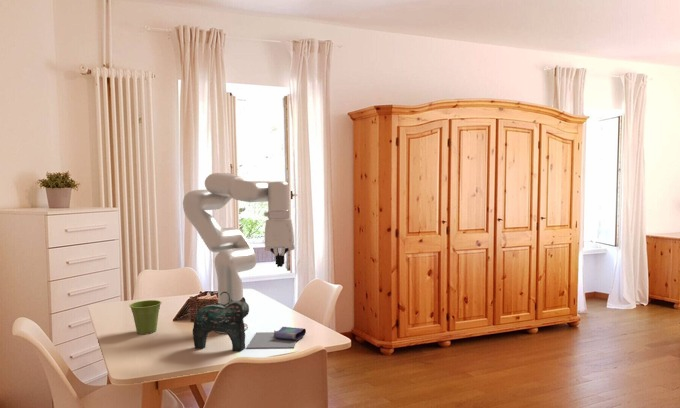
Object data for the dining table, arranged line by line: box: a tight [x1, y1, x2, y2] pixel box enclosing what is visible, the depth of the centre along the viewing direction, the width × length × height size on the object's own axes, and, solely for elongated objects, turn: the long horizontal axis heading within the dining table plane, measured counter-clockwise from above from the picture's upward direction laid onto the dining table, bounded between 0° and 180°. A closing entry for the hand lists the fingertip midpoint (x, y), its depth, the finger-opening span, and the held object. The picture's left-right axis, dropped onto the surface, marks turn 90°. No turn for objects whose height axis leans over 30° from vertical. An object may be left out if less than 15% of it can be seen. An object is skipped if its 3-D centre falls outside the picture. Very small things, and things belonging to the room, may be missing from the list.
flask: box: [273, 326, 307, 341], centre depth 184 cm, size 9×3×11 cm
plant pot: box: [129, 299, 162, 335], centre depth 196 cm, size 12×12×11 cm
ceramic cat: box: [192, 292, 250, 352], centre depth 173 cm, size 20×6×20 cm, turn 77°
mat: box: [245, 331, 298, 350], centre depth 182 cm, size 16×18×1 cm
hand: (280, 266), depth 181 cm, fingers closed
